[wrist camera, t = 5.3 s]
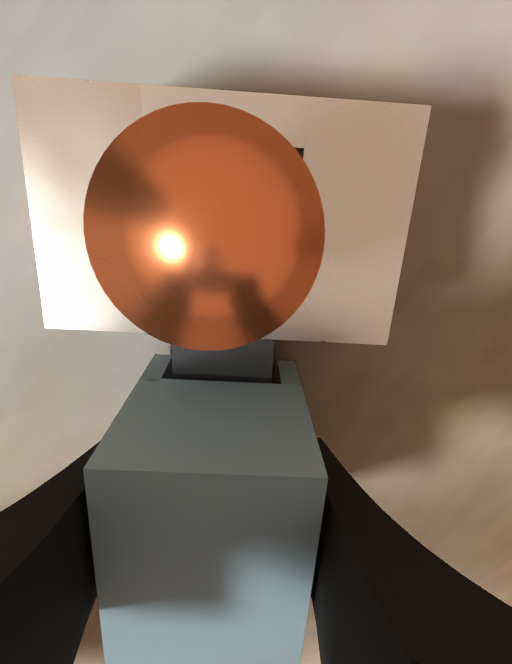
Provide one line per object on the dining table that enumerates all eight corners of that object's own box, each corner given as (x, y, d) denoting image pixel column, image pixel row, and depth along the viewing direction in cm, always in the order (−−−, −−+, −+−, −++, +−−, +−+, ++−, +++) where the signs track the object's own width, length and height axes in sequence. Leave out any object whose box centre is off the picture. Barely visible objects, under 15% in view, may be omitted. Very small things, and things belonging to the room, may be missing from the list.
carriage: (159, 494, 15) (105, 669, 9) (155, 354, 13) (82, 468, 7) (280, 499, 15) (299, 672, 9) (294, 360, 13) (327, 477, 7)
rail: (165, 695, 19) (151, 779, 17) (152, 277, 12) (123, 299, 9) (261, 696, 20) (263, 780, 17) (303, 285, 12) (319, 310, 10)
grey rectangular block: (107, 289, 12) (44, 327, 9) (95, 119, 11) (11, 74, 7) (345, 302, 13) (386, 345, 9) (369, 139, 11) (431, 105, 7)
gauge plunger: (167, 278, 10) (93, 345, 5) (164, 150, 9) (71, 91, 4) (282, 285, 10) (311, 356, 6) (293, 159, 9) (340, 111, 4)
